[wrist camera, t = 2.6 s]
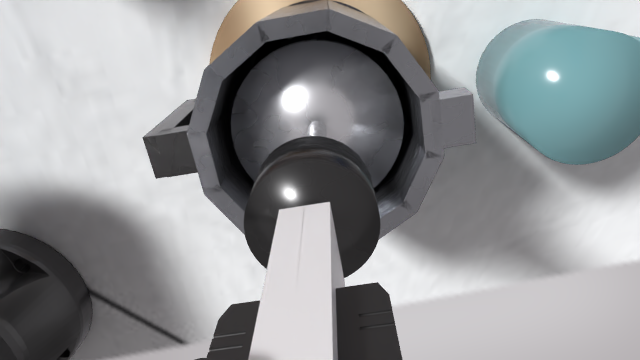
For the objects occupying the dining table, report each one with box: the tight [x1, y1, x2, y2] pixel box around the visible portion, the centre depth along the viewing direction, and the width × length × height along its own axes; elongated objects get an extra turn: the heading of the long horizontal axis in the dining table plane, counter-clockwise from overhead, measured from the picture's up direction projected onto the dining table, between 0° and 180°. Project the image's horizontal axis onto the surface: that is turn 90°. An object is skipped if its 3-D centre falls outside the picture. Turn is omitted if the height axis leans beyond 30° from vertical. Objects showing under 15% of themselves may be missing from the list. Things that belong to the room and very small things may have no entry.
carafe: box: [143, 0, 476, 240], centre depth 31 cm, size 17×12×15 cm
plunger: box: [231, 39, 404, 278], centre depth 21 cm, size 9×9×12 cm
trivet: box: [210, 0, 431, 80], centre depth 38 cm, size 17×17×1 cm
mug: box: [476, 19, 640, 165], centre depth 33 cm, size 10×8×10 cm
